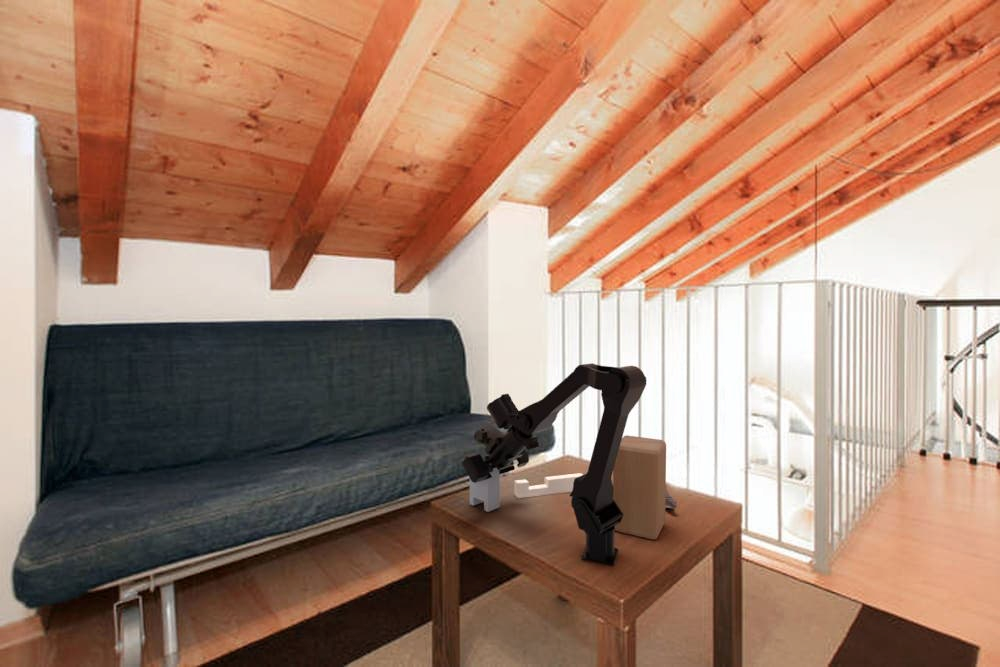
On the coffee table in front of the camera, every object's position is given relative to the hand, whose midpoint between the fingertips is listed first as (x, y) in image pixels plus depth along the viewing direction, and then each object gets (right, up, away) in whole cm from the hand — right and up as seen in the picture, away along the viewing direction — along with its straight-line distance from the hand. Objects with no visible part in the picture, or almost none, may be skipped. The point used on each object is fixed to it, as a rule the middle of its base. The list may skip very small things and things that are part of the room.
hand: (480, 478), depth 118 cm
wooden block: (+37, -8, -12) cm, 40 cm away
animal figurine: (+47, -7, 0) cm, 47 cm away
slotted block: (+1, -7, -1) cm, 7 cm away
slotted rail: (+19, -7, +9) cm, 22 cm away
